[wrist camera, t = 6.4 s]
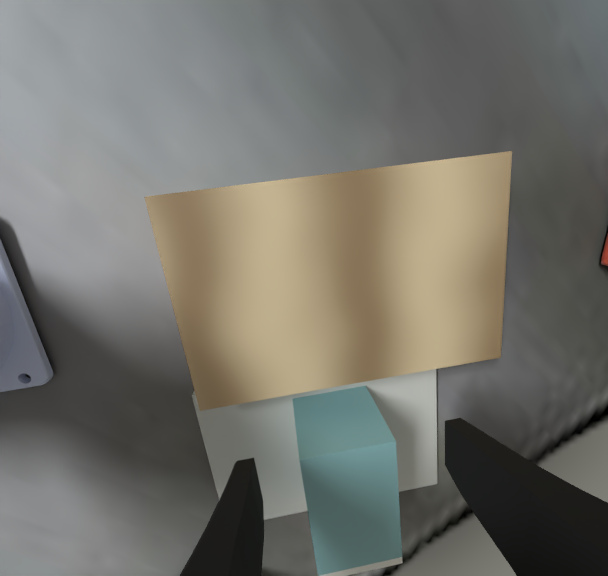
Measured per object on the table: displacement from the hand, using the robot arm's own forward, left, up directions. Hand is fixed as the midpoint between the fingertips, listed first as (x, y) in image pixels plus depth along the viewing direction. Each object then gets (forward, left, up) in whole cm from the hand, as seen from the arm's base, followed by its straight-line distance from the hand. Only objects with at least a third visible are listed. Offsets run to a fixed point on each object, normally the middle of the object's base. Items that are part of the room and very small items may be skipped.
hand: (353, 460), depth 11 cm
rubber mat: (0, -4, -5) cm, 7 cm away
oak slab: (+1, +6, -5) cm, 8 cm away
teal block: (0, 0, -3) cm, 3 cm away
